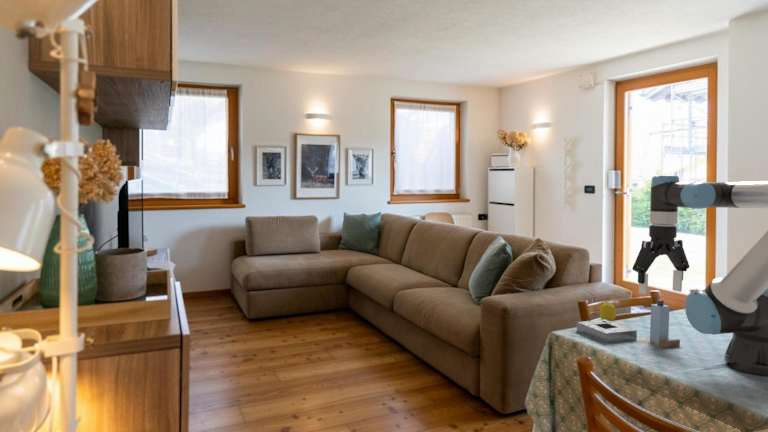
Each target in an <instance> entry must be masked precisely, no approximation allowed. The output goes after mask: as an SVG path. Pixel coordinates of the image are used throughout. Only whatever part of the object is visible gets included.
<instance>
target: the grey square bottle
mask: <svg viewBox="0 0 768 432" xmlns="http://www.w3.org/2000/svg"><path fill="white" fill-rule="evenodd" d="M664 301H665V300H663V299H657V300H656V303H651V305H650V306H651V307H650V327H649V329H650V330H649V332H650V333H649V338H650V342H652V343H655V344H658V345H659V341H663V340H669V332H670V331H669V329H670V305H666V304H664Z"/></svg>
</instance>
